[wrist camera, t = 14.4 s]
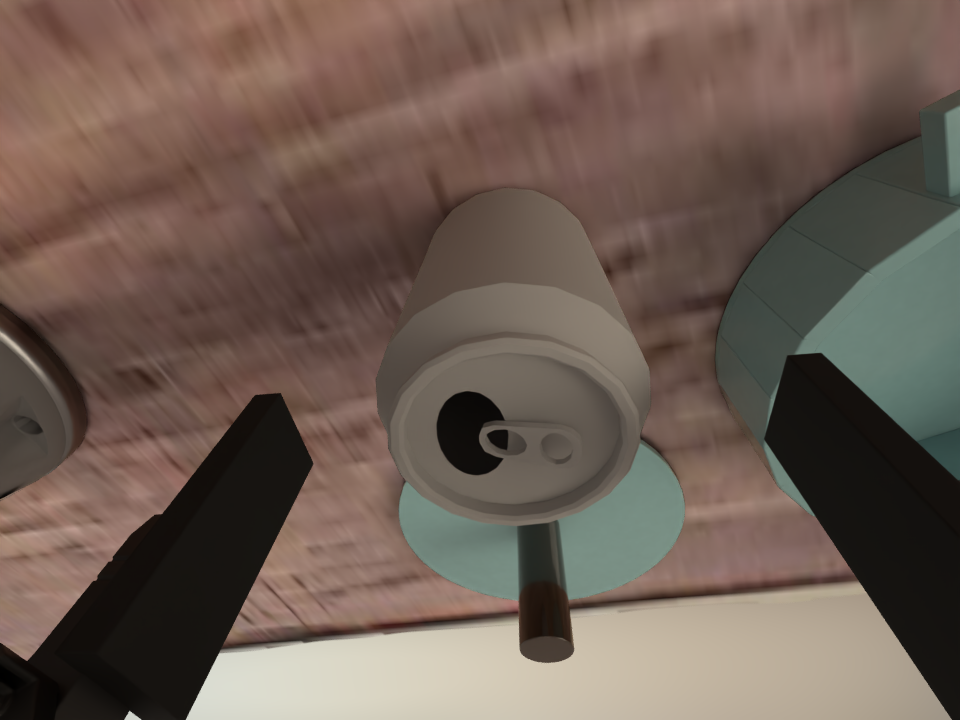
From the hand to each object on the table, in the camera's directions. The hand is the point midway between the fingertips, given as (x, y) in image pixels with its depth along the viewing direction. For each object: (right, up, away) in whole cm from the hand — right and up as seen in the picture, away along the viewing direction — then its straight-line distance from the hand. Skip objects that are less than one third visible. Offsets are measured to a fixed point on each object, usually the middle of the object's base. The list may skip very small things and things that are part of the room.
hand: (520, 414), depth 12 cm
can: (0, +6, +9) cm, 11 cm away
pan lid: (+3, -9, +18) cm, 20 cm away
